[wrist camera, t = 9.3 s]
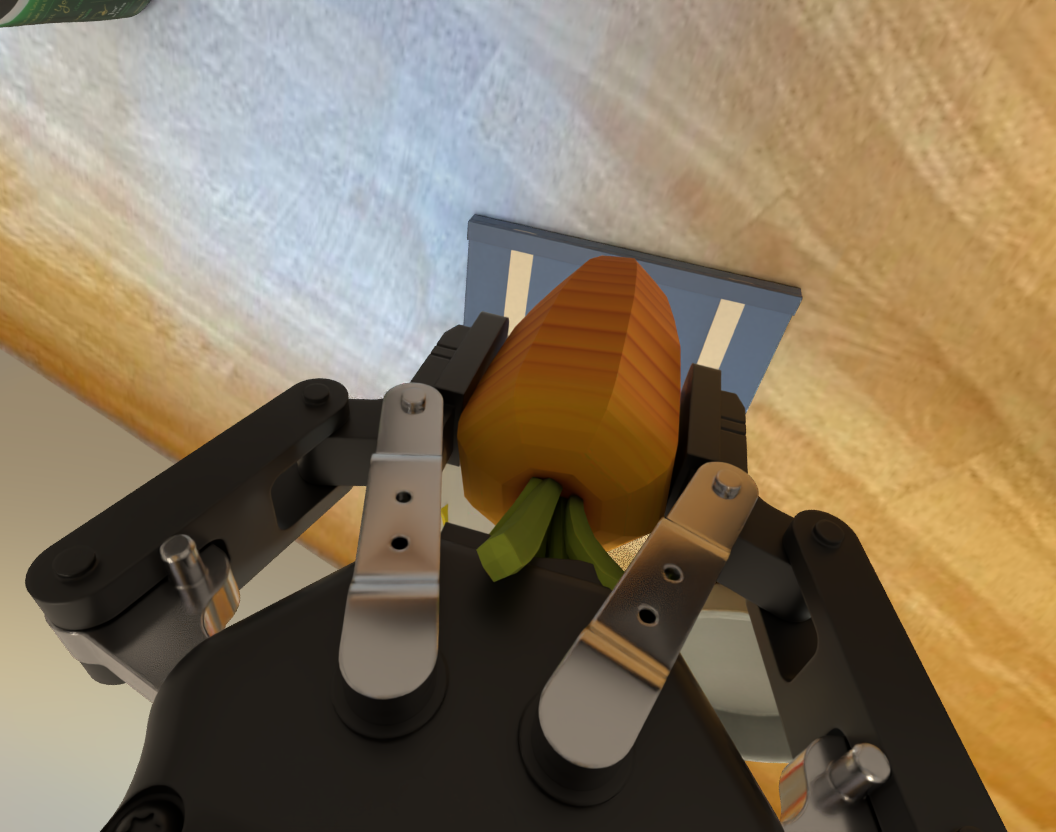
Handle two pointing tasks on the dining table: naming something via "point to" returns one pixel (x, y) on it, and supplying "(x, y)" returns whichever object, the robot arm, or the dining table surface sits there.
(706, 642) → the cake pan
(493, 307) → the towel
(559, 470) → the carrot
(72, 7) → the coffee jar
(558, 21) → the dining table surface
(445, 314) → the dining table surface
